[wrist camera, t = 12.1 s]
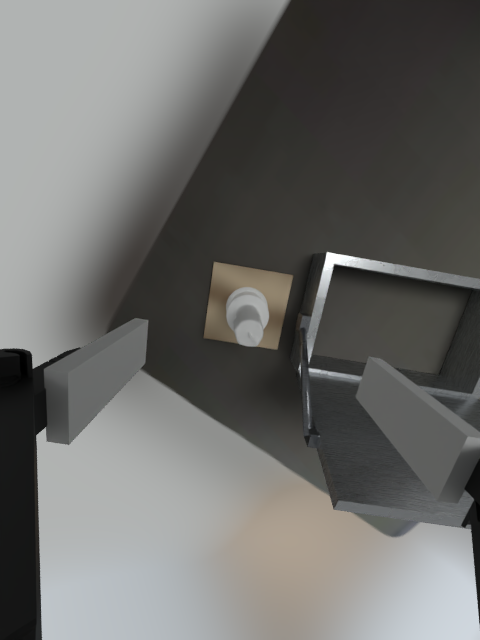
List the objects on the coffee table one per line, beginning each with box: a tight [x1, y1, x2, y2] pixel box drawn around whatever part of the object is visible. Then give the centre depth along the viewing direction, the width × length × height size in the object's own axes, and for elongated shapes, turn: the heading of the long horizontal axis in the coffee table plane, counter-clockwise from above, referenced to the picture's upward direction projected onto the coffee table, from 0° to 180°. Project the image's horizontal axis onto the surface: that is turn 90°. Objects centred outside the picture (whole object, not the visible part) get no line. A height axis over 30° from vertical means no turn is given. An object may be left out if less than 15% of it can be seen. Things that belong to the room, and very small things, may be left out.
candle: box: [226, 287, 269, 347], centre depth 26 cm, size 5×5×12 cm
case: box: [290, 252, 480, 529], centre depth 23 cm, size 17×23×19 cm
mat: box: [204, 262, 293, 350], centre depth 32 cm, size 10×10×1 cm
